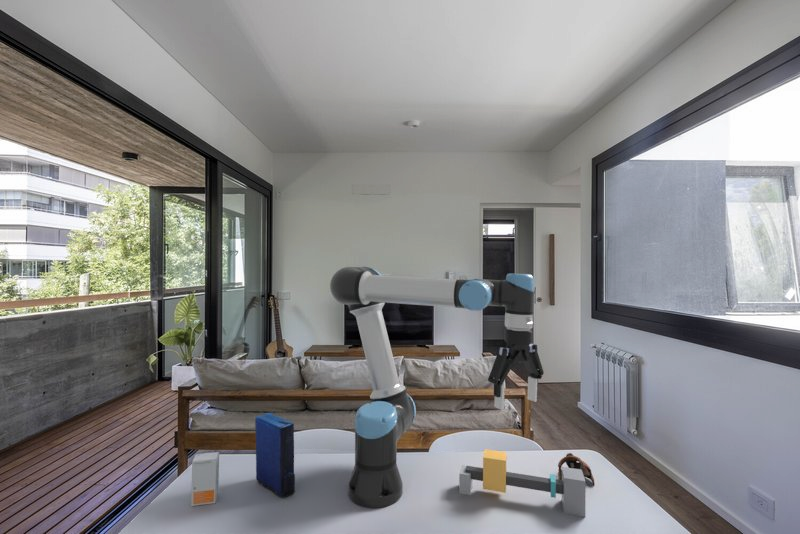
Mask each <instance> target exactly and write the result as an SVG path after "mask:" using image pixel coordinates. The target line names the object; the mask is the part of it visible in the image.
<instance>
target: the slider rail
mask: <svg viewBox="0 0 800 534" xmlns="http://www.w3.org/2000/svg"><path fill="white" fill-rule="evenodd" d="M561 470H562V480H559V479H557V478H556V475H555V474H549V477H548V478H547V477H544V476H543V477H541V476H536V475H530V474H525V473H523V474H522V473H517V472H510V471H506V486H511V487H516V488H523V489H528V490H536V491H542V492H546V493H550V498H554V499H556V498H557V494H560V495H561V505H562V509H563V514H567V515H571V516H578V517H583V518H586V479H585V478H586V477H584V475H583V472H582V470H581V469H574V468H568V466H566V467H565V466H562V467H561ZM474 480H475V481H480V482H483V467H480V466H479V467H478V466H472V465H465V464H462V465H461V467H460V469H459V479H458V481H459V482H458V483H459V485H458V486H459V487H458V488H459V489H458V491H459V494H461V495H467V496H471V493H472V489H473V481H474Z"/></svg>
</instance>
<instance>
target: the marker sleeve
mask: <svg viewBox="0 0 800 534" xmlns="http://www.w3.org/2000/svg"><path fill="white" fill-rule="evenodd" d="M482 468H483V481H482V489H483V490H487V491H493V492H498V493H504V494H506V493H507V485H506V472H507V452H506V451H500V450H493V449H484V452H483V457H482Z"/></svg>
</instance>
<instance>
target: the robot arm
mask: <svg viewBox="0 0 800 534" xmlns="http://www.w3.org/2000/svg"><path fill="white" fill-rule="evenodd" d="M329 290H330V293H331V296H332V297H333V298H334V300H335V301H336V302H338V303H340V304H343V305H347V307H348V310H349V313H350V314H352V315H353V316H354V317H355V319H356V323H357V327H358V331H359V335H360V340H361V344H362V349H363V352H364V355H365V356H364V357H365V361H366V365H367V368H368V374H369V377H370V381H371V386H372V391H371V394H370V395H369V398H370V403H369V402H367V403H365V404H363V405H362V406H360V407H359V408H358V409H357V411H356V413H355V420H354V466H353V469H352V473H351V476H350V479H349V481H348V496H349V499H350V501H352V502H353V503H354V504H356V505H359V506H360V507H364V508H373V509H374V508H383V507H387V506H390V505H391V506H392V505H393V504H394V503H397V502H398V501H399V500H400V499H401V497H402V495H403V480H402V478H401V473H400V470H399V466H398V464H397V451H398V450H397V448H398V447H397V446H398V445H397V443H398V441H399V440H400V439H401V438H402V436H403V435H404V433H406V432H407V431H408V430H409V429H410V428H411V427H412V425H413V423H414V420H415V419H416V415H417V409H416V403H415V402H414V400H413V398H412V396H411V395H409V394H408V393H407V392H408V391H407V388H406V386H405V385H404V384H402V383H400V379H399V375H398V371H397V366H396V364H395V360H394V356H393V351H392V347H391V343H390V339H389V335H388V331H387V327H386V321H385V319H384V315H383V311H382V310H383V308H384V306H385V304H386V303H387V304H401V305H414V306H415V305H417V306H428V307H429V306H431V307H442V308H443V307H446V308H455V309H456V308H458V309H464V310H465V309H467V310H468V311H472V312H473V311H474V312H475V311H477V312H478V311H481V310H485V308H486V307H488V306H489V307H490V306H491V307H504V308H505V311H504V313H505V314H504V327H505V329H504V337H503V338H504V339H503V340H504V342H505V343H506V346H505V347H502V346H498V347H497V349H496V350H497V353H496V357H495V360H494V362H493V365H492V368H491V370H490V374H489V376H488V379H487V381H488V383H492V384H493V396H494V405H493V407H494V408H496V409H498V410H501V411H504V410H505V388H506V387H505V386H506V385H504V384H503V383H504V382H505V380H506V378H507V377H508V375H509V373H510V372H511V369H512V368H513V366H516V364H519V363H522V364H523V365H524V367H525V369H526V371H527V372H528V374H529V376H527V395H526V396H527V397H526V399H527V400H528V401H532V402H535V403H536V402H537V400H538V399H537V398H538V387H539V380H541V379H542V378H543V375H544V368H543V366H542V362H541V359H540V355H539V353H538V345H537V344H534V343H533V334H534V333H533V331H532V330H531V329H533V325H534V321H533V320H534V319H533V317H534V316H533V315H534V301H535V300H534V298H535V279H534V276H533V275H532V274H531V273H529V274H528V273H507V274H506V277H505V279H499V280H498V279H485V278H484V279H481V278H466V279H458V278H457V279H456V278H438V277H437V278H436V277H435V278H434V277H421V276H420V277H418V276H402V275H401V276H400V275H399V276H398V275H382V274H381V273H380V272H379V271H378V270H376V269H374V268H372V267H370V266H369V267H368V266H346V267H342V268H340V269H339V270H337V271H336V272H335V273H334V274H333V275H332V276H331V280H330V284H329Z"/></svg>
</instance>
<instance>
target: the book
mask: <svg viewBox="0 0 800 534" xmlns="http://www.w3.org/2000/svg"><path fill="white" fill-rule="evenodd" d="M254 422H255V427H254V428H255V475H256V476H255V478H256V481H257V482H258V483H259V484H260V485H262V486H263V487H265V488H268V490H271V491H272V492H274V493H275V494H277V495H278V497H281V498H282V497H283V498H285V497H287V496H290V495H293V493H295V490H296V489H295V488H296V487H295V486H296V476H295V475H296V474H295V434H294V433H295V430H294V429H295V424H294V422H293V421H290V420H288V419H287V420H286V419H284V418H282V417H279V416H277V415H274V414H273V413H271V412H267V413H263V414H260V415H258V416H255V421H254Z"/></svg>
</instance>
